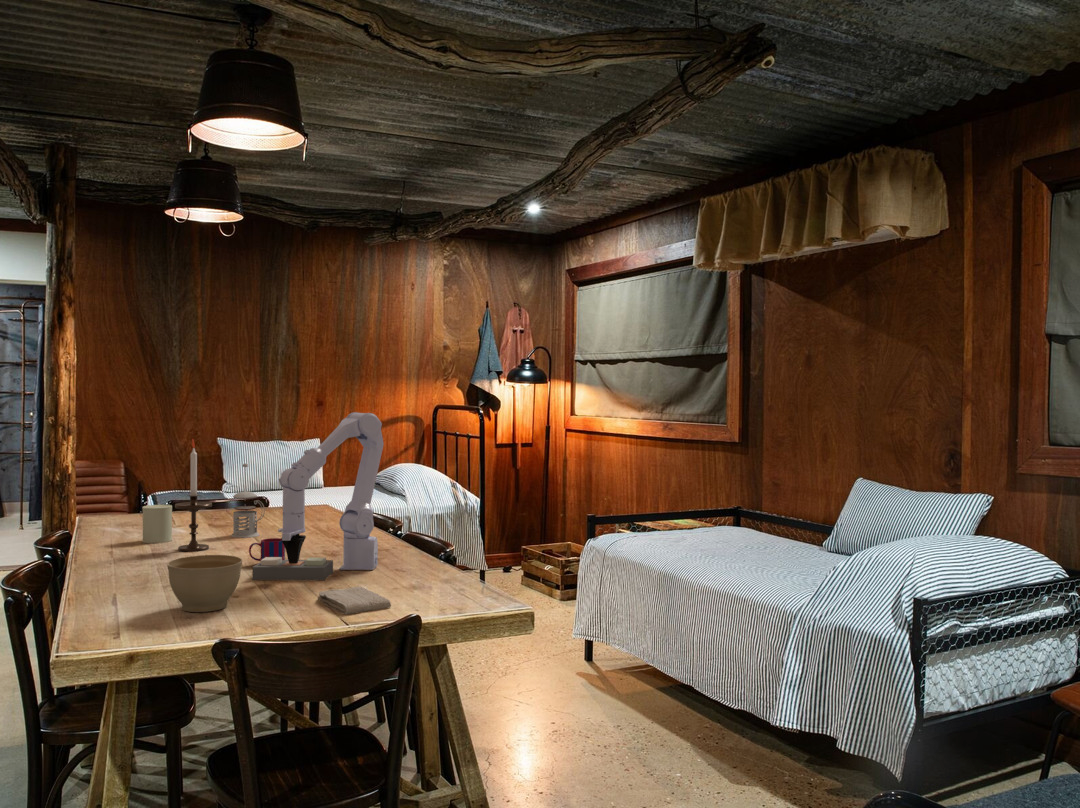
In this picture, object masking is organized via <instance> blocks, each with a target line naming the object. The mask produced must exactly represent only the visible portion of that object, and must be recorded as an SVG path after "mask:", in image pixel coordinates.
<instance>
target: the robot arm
mask: <svg viewBox="0 0 1080 808" xmlns="http://www.w3.org/2000/svg"><path fill="white" fill-rule="evenodd" d="M382 424H383V423H382V421H381V420H380V419H379V417H378V416H377V415H376V414H374V413H372V412H365V413H364V412H357V411H354V412H351V413H349V414H347V416H346V417H344V418H343V419H342V420H341V421H340V422H339V424H338V425H337V427H336V428H334V430H333V431H332V432H331V433H330V434H329V435H328V436H327V437H326V438H325V439H324V441H323V442H321V444H319V446H318V447H311V448H309V449H305V450H304V451H303V455H302V456H301V457H300V458H298V460H297V461H296V462H292V464H291V467H289V468H286V469H284V470H283V471H282V473H281V474H280V475H281V476H280V477H279V478H278V482H279V485H280V486H281V488H282V528H278V530H277V532H278V533H282V534H281V541H282V543H283V544H284V546H285V553H286V556H287V560H288V561H289V563H298V560H300V555H301V550H302V547H303V545H304V542H305V541H306V538H307V535H304V534H303V533H305V532H306V527H305V525H306V524H305V520H306V519H305V515H306V513H305V510H306V509H305V508H306V507H305V506H306V505H305V504H306V501H305V500H306V499H305V489H306V488H307V487H308V486H309V483H310V479H311V478H312V477H313V476H315V474H316V473H317V472H318V471H320V469H322V468H323V467H324V465H325V464H326V463H327V457H328V455H330V454H331V453H332V452H334V450H336V448H338V447H339V446H340V445H341V444H342V443H344V442H345V441H346V440H347V439H349V438H356V439H357V441H359V442H360V444H361V445H362V447H363V449H362V453H361V455H360V456H361V459H360V462H359V466H358V470H357V474H356V478H355V484H354V488H353V492H352V496H351V500H350V502H349V503H347V504H346V506H345V508H344V511H343V514H342V515H341V516H340V517H339V527H340V529H341V531H342V532H343V564H342V565H341V566H340V567H339V570H340V571H342V570H343V571H345V570H346V571H347V570H348V571H349V570H350V571H351V570H352V571H355V570H356V571H372V570H374V569H375V568H377V566H378V565H379V563H378V562H379V560H378V559H379V557H378V555H379V554H378V553H379V552H378V549H379V548H378V547H379V546H378V545H379V544H378V543H379V542H378V537H376V536H371V533H372V532H373V530H374V526H375V523H374V522H375V521H374V513H375V512H374V509H373V507H372V505H371V503H372V497H373V495H374V490H375V485H376V482H377V481H376V480H377V476H378V471H379V467H380V462H381V457H382V453H383V450H384V446H385V445H384V438H383V433H382V427H383V425H382ZM300 534H302V535H300Z"/></svg>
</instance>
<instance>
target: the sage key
mask: <svg viewBox="0 0 1080 808" xmlns="http://www.w3.org/2000/svg"><path fill="white" fill-rule="evenodd" d="M305 560H306V561H305V566H323V565H324V564H325V563H326V560H327V558H326V557H317V556H316V557H314V556H312V557H308V558H307V559H305Z"/></svg>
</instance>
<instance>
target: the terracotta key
mask: <svg viewBox="0 0 1080 808" xmlns="http://www.w3.org/2000/svg"><path fill="white" fill-rule="evenodd" d="M303 563H304V561H298V563H289V561H287V562H286V563H284V564H283V565H292V566H300V565H302V564H303Z"/></svg>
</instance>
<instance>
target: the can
mask: <svg viewBox="0 0 1080 808" xmlns="http://www.w3.org/2000/svg"><path fill="white" fill-rule="evenodd" d="M141 510H142V540H141V542H142V543H143V544H159V543H160V544H162V543H168V542H172V541H173V537H172V535H173V533H172V532H173V529H172V528H173V525H172V523H173V505H172V504H163V503H162V504H150V505H144V506H142V509H141Z"/></svg>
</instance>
